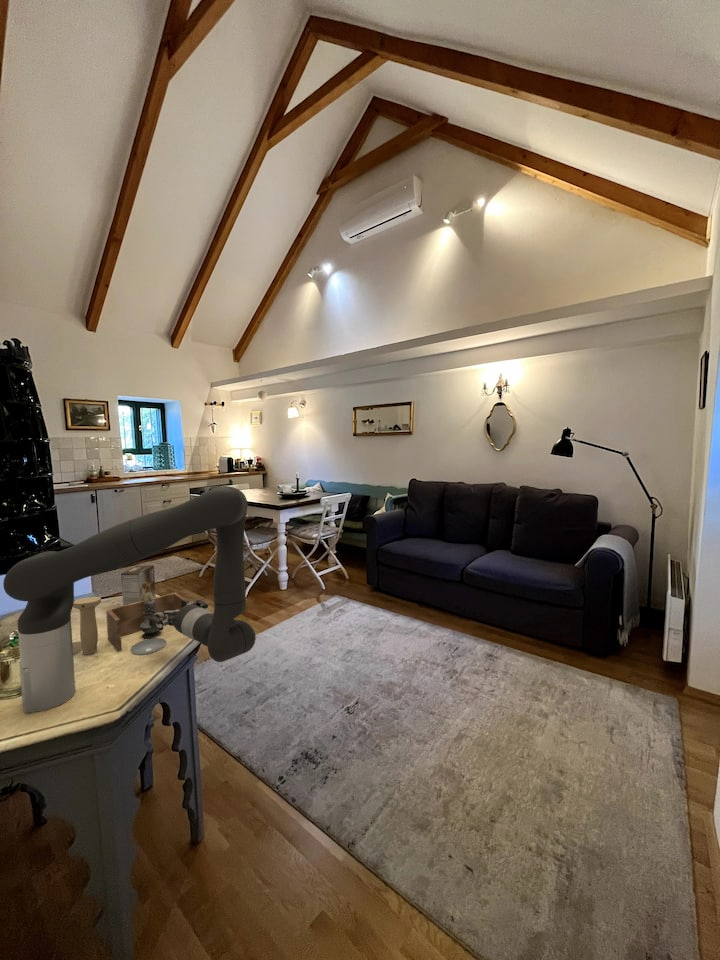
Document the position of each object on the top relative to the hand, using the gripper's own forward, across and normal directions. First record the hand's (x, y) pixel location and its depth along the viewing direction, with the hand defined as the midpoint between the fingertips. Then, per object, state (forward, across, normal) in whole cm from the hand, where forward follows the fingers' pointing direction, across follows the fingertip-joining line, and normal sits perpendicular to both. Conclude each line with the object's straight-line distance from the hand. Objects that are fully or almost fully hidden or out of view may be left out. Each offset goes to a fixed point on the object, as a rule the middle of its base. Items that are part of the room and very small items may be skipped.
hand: (167, 608), depth 111 cm
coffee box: (+30, -4, +11) cm, 32 cm away
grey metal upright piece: (+12, 0, +11) cm, 16 cm away
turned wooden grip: (+14, +16, +11) cm, 24 cm away
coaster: (+4, +4, +11) cm, 13 cm away
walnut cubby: (+12, 0, +11) cm, 17 cm away
